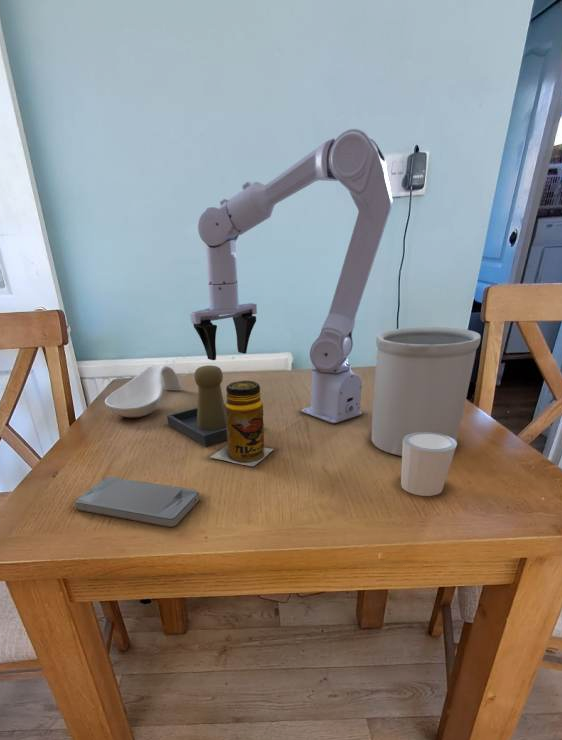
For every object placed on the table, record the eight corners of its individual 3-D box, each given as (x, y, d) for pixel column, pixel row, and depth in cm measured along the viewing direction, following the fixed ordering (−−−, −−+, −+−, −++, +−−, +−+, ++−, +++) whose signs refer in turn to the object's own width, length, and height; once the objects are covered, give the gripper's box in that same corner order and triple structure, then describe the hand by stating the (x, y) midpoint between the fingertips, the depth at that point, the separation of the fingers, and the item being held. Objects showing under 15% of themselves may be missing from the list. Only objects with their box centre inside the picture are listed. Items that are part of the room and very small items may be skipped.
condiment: (254, 467, 74) (251, 393, 67) (209, 458, 77) (203, 387, 71) (274, 450, 79) (273, 380, 73) (231, 442, 83) (227, 375, 77)
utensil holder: (351, 433, 84) (359, 331, 75) (421, 421, 87) (437, 322, 78) (398, 466, 71) (414, 349, 62) (478, 450, 75) (505, 337, 66)
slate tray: (260, 429, 87) (260, 419, 86) (205, 446, 82) (204, 435, 81) (219, 411, 98) (219, 401, 96) (168, 425, 92) (166, 415, 91)
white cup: (407, 471, 70) (414, 427, 66) (454, 483, 66) (464, 437, 62) (388, 489, 66) (394, 443, 62) (437, 503, 62) (447, 455, 58)
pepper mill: (214, 432, 86) (209, 372, 80) (190, 426, 89) (184, 368, 83) (234, 422, 90) (231, 364, 84) (210, 417, 93) (206, 361, 87)
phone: (108, 483, 71) (107, 476, 71) (202, 498, 66) (201, 490, 65) (74, 509, 65) (72, 501, 64) (174, 528, 60) (173, 519, 59)
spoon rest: (148, 425, 92) (142, 390, 89) (97, 421, 96) (89, 387, 92) (194, 390, 111) (191, 360, 108) (150, 388, 115) (146, 358, 111)
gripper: (241, 278, 95) (244, 347, 102) (179, 286, 88) (187, 359, 95) (262, 280, 90) (264, 352, 97) (198, 288, 83) (205, 365, 90)
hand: (227, 356), depth 96 cm, fingers open, 7 cm apart
